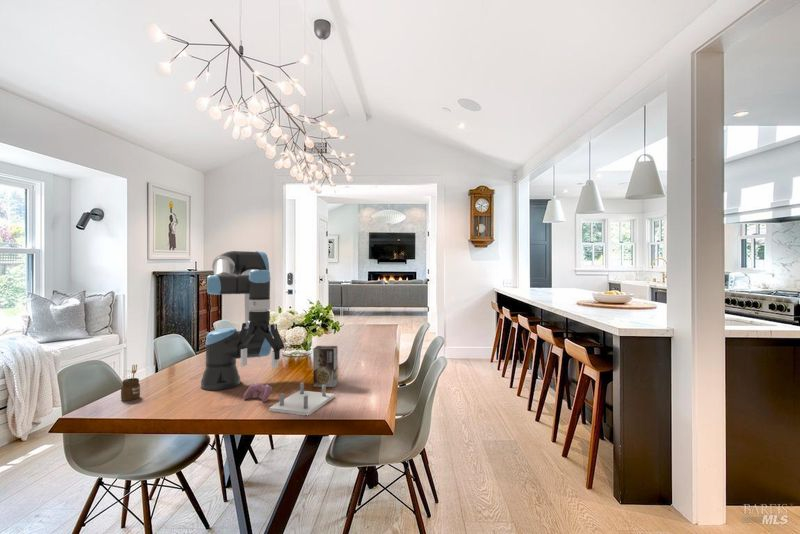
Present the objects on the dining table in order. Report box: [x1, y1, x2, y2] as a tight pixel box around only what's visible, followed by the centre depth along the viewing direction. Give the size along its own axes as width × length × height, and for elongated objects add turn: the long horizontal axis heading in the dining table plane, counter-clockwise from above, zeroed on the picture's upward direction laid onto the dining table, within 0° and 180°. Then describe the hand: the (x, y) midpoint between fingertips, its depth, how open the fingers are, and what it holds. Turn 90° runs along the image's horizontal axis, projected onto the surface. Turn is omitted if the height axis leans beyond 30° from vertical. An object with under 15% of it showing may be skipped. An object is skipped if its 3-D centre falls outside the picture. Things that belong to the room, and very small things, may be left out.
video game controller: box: [242, 382, 273, 403], centre depth 147 cm, size 10×5×7 cm, turn 71°
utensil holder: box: [120, 364, 141, 402], centre depth 147 cm, size 6×6×12 cm
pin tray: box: [268, 382, 335, 417], centre depth 142 cm, size 15×20×5 cm
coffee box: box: [312, 345, 339, 388], centre depth 165 cm, size 9×6×16 cm
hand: (259, 367), depth 147 cm, fingers open, 13 cm apart
